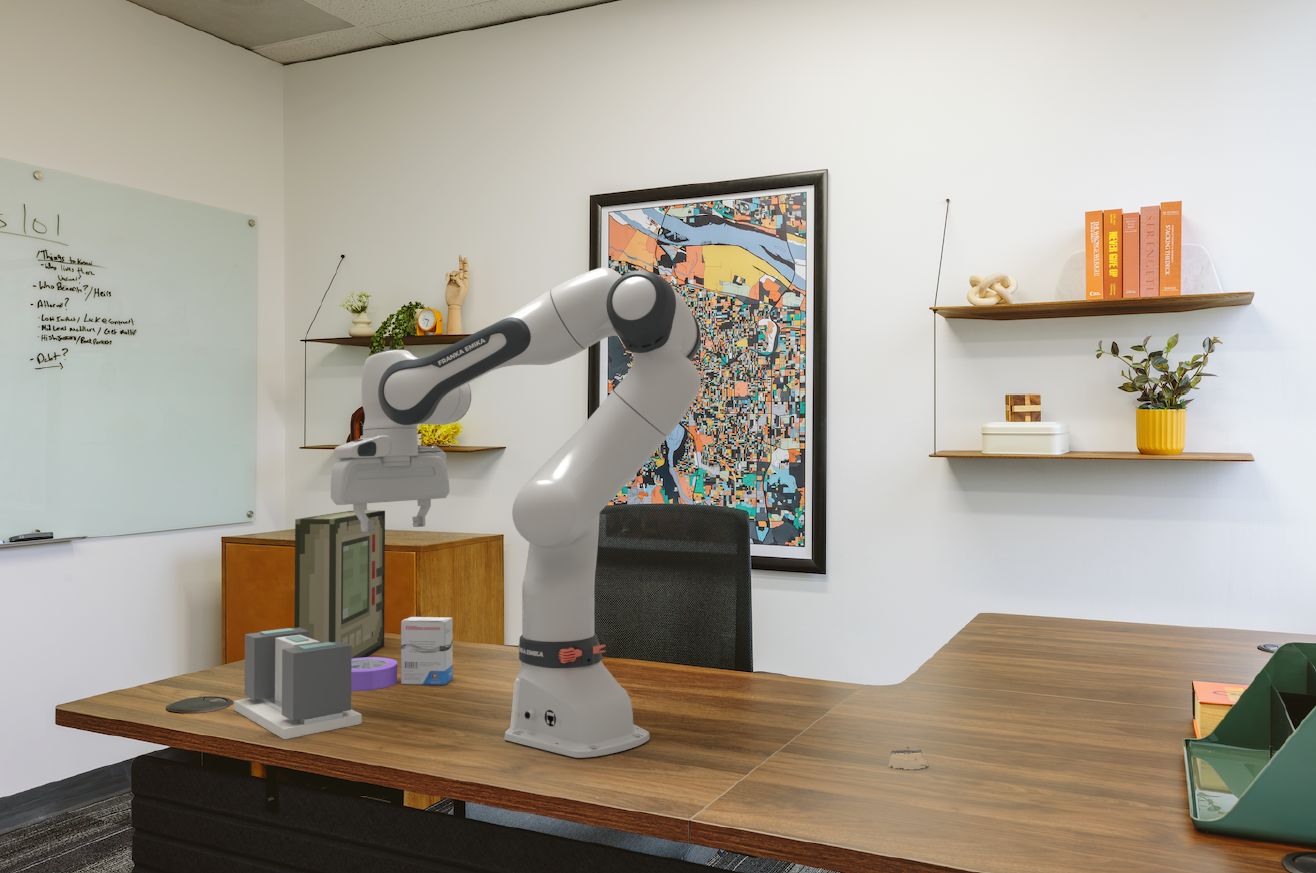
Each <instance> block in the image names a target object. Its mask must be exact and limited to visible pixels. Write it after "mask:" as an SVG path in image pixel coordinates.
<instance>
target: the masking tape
mask: <svg viewBox="0 0 1316 873" xmlns="http://www.w3.org/2000/svg"><path fill="white" fill-rule="evenodd" d="M397 683H398V661H397V660H395V659H393V658H388V657H379V656H377V657H376V656H368V657H363V658H353V659H351V692H364V691H372V690H373V691H374V690H380V689H385V688H389V687H392V686H394V685H395V684H397Z"/></svg>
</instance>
